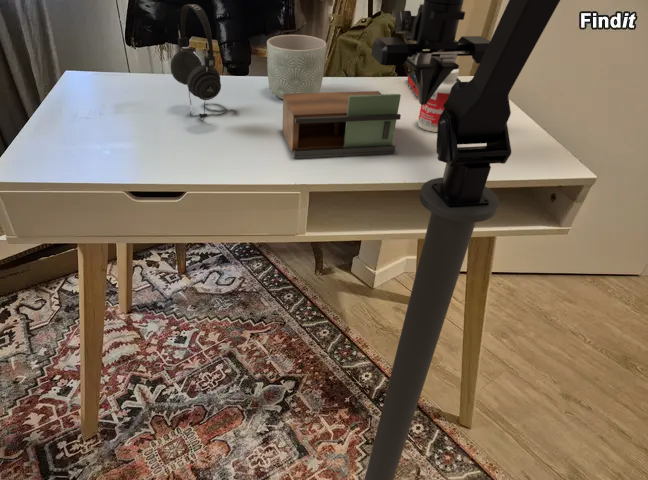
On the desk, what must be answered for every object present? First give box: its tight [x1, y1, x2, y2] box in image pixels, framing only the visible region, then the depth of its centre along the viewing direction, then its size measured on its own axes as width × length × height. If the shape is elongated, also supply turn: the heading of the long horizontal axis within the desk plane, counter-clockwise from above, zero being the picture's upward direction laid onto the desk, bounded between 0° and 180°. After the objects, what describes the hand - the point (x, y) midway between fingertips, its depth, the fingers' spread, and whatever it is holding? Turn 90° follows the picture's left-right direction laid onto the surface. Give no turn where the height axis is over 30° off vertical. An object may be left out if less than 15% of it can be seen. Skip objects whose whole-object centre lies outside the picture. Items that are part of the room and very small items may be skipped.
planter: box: [266, 34, 327, 100], centre depth 107 cm, size 12×12×11 cm
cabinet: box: [281, 90, 402, 160], centre depth 89 cm, size 12×18×7 cm, turn 100°
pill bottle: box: [417, 68, 460, 133], centre depth 95 cm, size 6×6×11 cm
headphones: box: [170, 3, 237, 122], centre depth 92 cm, size 15×11×20 cm
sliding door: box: [343, 93, 402, 147], centre depth 85 cm, size 1×9×9 cm, turn 100°
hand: (422, 104), depth 85 cm, fingers closed
